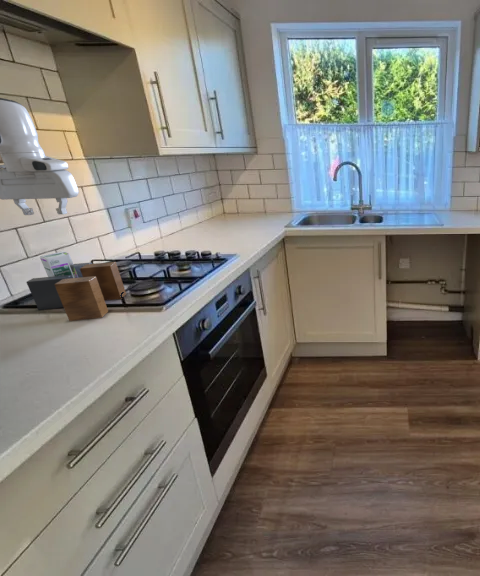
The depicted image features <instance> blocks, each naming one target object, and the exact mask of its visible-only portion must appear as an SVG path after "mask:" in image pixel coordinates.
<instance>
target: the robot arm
mask: <svg viewBox="0 0 480 576" xmlns="http://www.w3.org/2000/svg"><path fill="white" fill-rule="evenodd" d="M0 158H1V160H2V162H3V164H0V200H4V201H5V200H13V203H14V204H15V206H17V207H18V208H19V209H20V210H21V211H22V214H23V215H24V216H33V215H35V212H34V209H33V207H29V206H28V205H27V203H26V202H27V201H26V200H42V199H43V200H45V199H47V200H48V199H50V200H51V199H55V201H56V202H57V203H58V207H56V208H55V211H56V214H57V215H67V214H68V210H67V206H68V199H72V198H77V197H78V196H79V193H80V192H79V188H78V185H77V183H76V180H75V178H74V176H73V174H72V172H70V171H69V170H68V169H69V165H68V162H67V161H65V160H62V159H58V158H54V157H51V156H47V155H46V154H45V151H44V149H43V148H42V146H41V145H40V142H39V134H38V131H37V129H36V127H35V124H34V121H33V119H32V117H31V114H30V113H29V111H28V109H27V108H26V107H25V106H24V105H22V103H20V102H18V101H16V100H13V99H8V98H3V97H0Z"/></svg>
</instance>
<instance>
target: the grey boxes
mask: <svg viewBox="0 0 480 576" xmlns="http://www.w3.org/2000/svg"><path fill="white" fill-rule="evenodd" d="M86 264H93V263H92V262H80V263H79V262H78V263H73V265H74V267H75V270H76V273H77V275H78V278H81V277H83V276H82V273H81V270H80V268H81V267H83V266H85V265H86ZM70 278H73V276H72V275H64V276H53V277H48V276H44V277H34V278H33V277H32V278H31V279H29V280H27V281H26V282H25V283H26V285H27V288H28V289H29V292H30V294H31V296H32V298H33V301H34V303H35V305H36V307H37V310H38V311H43V310H44V311H45V310H51V309H62V308H63V309H64V307H63V304H62V302H61V299H60V297H59V294H58V292H57V290H56V287H55V285H54V284H56V283H57V282H59V281H61V280H62V279H70Z"/></svg>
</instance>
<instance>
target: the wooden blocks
mask: <svg viewBox="0 0 480 576" xmlns="http://www.w3.org/2000/svg"><path fill="white" fill-rule="evenodd" d="M80 270H81V273H82V276H83V277H81V278H70V279H62V280H61V281H59V282H57V283H56V284H54V285H55V287H56V290H57V292H58V294H59V297H60V299H61V302H62V304H63V309H64V311H65V314H66V316H67V319H68V322H75V321H83V320H91V319H100V318H103V317H104V316H106V314H108V313H109V309H108V307H107V306H108V305H107V303H106V302H107V301H115V300H122V299H123V298H124V297H125V296H126V295H127V292H126V289H125V286H124V283H123V280H122V277H121V273H120V270H119V268H118V264H117V262H116V261H109V262H108V261H107V262H98V263H92V264H86V265H85V266H83V267H81V268H80ZM122 292H124V293H123V294H122V297H123V298H121V296H120V295H121V293H122Z"/></svg>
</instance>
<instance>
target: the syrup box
mask: <svg viewBox="0 0 480 576" xmlns="http://www.w3.org/2000/svg"><path fill="white" fill-rule="evenodd" d="M39 259H40V261H41V264H42V266H43V269H44V270H45V273H46V275H47V277H53V276H64V275H72V276H73V278H78V275H77V273H76V270H75V267H74V265H73V264H74V262H73V260H72V257H71V255H70V253H69V252H66V251H63V250H62V251H59V252H54V253H49V254H45V255H40V256H39Z"/></svg>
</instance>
